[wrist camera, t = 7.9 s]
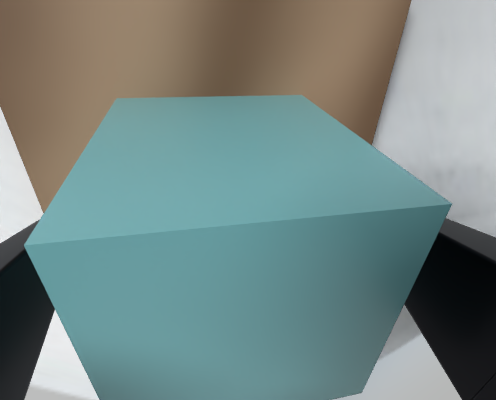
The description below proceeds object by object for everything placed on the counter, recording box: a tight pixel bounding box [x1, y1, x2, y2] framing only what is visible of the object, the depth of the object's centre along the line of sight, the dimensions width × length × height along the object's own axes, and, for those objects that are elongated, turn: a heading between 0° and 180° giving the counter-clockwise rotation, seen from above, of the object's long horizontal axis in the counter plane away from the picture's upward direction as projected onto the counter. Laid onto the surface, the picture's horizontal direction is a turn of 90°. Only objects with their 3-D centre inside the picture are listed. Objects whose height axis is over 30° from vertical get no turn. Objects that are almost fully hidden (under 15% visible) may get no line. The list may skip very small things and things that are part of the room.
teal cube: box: [24, 95, 452, 400], centre depth 8 cm, size 6×6×7 cm
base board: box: [0, 0, 411, 213], centre depth 11 cm, size 12×12×1 cm
